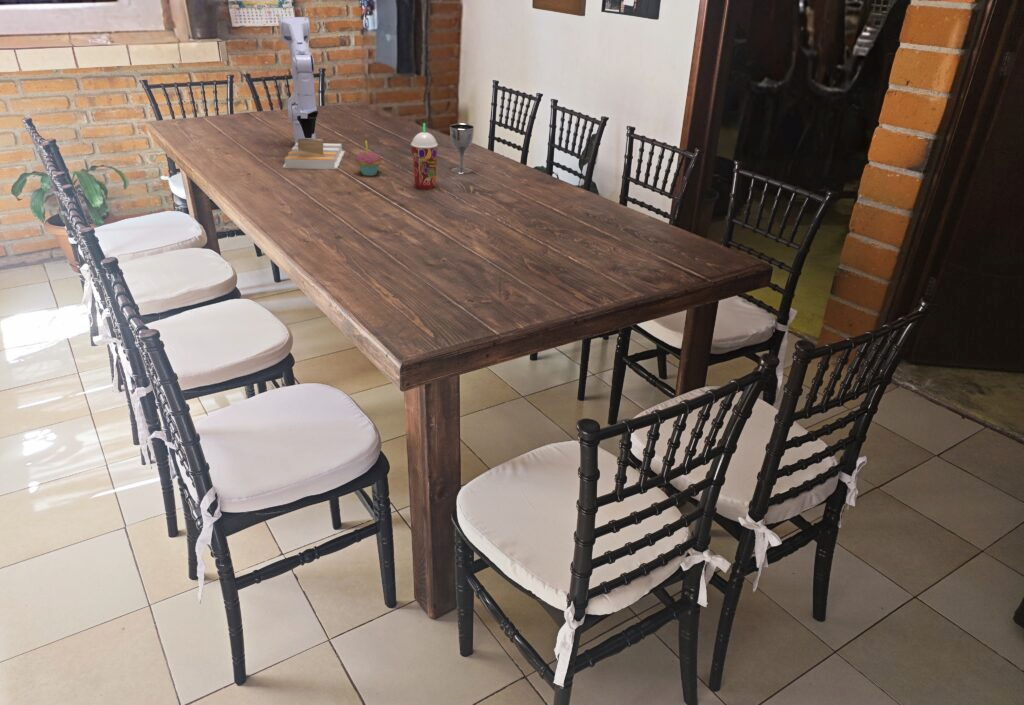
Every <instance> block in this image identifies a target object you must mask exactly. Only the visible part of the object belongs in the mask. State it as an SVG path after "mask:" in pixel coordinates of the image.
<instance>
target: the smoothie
mask: <svg viewBox="0 0 1024 705" xmlns="http://www.w3.org/2000/svg"><path fill="white" fill-rule="evenodd" d="M422 128H423V129H422V131H421V132H419V133H417V134H416V135H415V136H414V137H413V139H412V142H411V143H410V147H411V157H412V167H413V168H412V169H413V179H414V184H415V187H416V188H418V189H422V190H430V189H433V188H434V187H435V184H436V183H437V182H436V180H437V165H438V163H437V162H438V146H439V145H438V144H439V143H438V142H437V139H436V138H435V137H434V135H432V134H431V133H430V132H427V131H426V123H425V122H424V123H422Z"/></svg>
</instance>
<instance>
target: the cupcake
mask: <svg viewBox="0 0 1024 705" xmlns="http://www.w3.org/2000/svg"><path fill="white" fill-rule="evenodd" d="M364 143H365V151H363V152H361V153H359V154H358V155H357V156H356V157H355V163H356V164H357V165H358V166H359V169H360V171H361V174H362V175H363V176H367V177H368V176H369V177H370V176H371V177H372V176H376V175H377V174H378V169H379V167H380V165H381V164H382V157H381V156H380V155H379V154H377V153H375V152H372V151H369V147H368V146H369V145H368V141H367V140H365V142H364Z"/></svg>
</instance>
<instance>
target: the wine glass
mask: <svg viewBox="0 0 1024 705" xmlns="http://www.w3.org/2000/svg"><path fill="white" fill-rule="evenodd" d="M474 130H475V128H474V125H472V124H468V123H453V124H451V125H449V135H450V139H451V140H450V141H451V144H452V145H453V147H454V148H455V149H456V150H457V151H458V154H459V158H460V159H459V163H460V166H459V167H453V168H451V169H452V170H451V169H450V171H451V172H453V173H454V174H455V173H456V174H469V172H470V173H471V172H472V169H471V168H469V167H468V168H467V167H464V164H463V163H464V162H463V161H464V155H465V152H466V151H467V149H469V147H470V146H471V144H472V143H473V139H474V133H475V132H474Z"/></svg>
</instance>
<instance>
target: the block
mask: <svg viewBox="0 0 1024 705" xmlns="http://www.w3.org/2000/svg"><path fill="white" fill-rule="evenodd" d="M323 141H324V139H323V138H322V139H321V138H315V139H298V150H299V156H305V157H324V150H323V143H324V142H323Z"/></svg>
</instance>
